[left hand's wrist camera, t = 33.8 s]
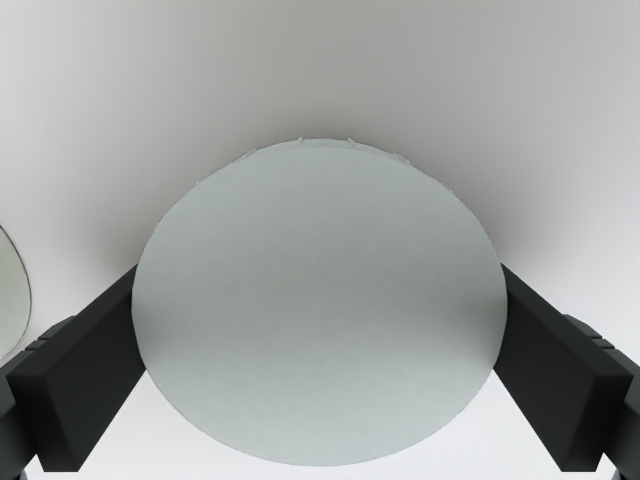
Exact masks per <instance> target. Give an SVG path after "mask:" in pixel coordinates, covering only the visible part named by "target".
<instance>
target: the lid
mask: <svg viewBox="0 0 640 480" xmlns="http://www.w3.org/2000/svg"><path fill="white" fill-rule="evenodd" d="M409 163H410V161H409V160H407V159H405V158H404V157H402V156H400V155H398V154H397V153H395V152H394V153H393V155H392V154H390V153H387V152H385V151H382V150H380V149H377V148H375V147H372V146H368V145H364V144H360V143H356V142H354V141H353V140H352V139H350V138H348V141H345V140H335V139H303V137H299V138H298V140H295V141H289V142H283V143H278V144H275V145H272V146H268V147H265V148H262V149H259V150H257V149H256V148H254V149H252V150H250V151H248V152H247V153H245V154H243V155H242V156H241V158H239V159H237V160H235V161H234V162H232V163H230V164H229V165H227V166H225V167H224V168H222V169H220V170H219V171H216V170H215V171H213V172H212V173H210V174H208V175H207V176H205V177H203V178H201V179H200V180H198V181H197V182H195V184H196V186H194V187H193V188H192V189H191V190H189V191H188V192H187V193H186V194H185V195H184V196H183V197H182V198H181V199H180V200H179V201H177V202H176V203H175V204H174V205H173V206H172V207H171V209H170V210H169V211H168V212H167V214H166V215H165V216H163V217H162V219H161V221H160V222H159V223H158V225H157V226H156V228H155V230H154V231H153V233H152V235H151V237H150V238H149V240H148V242H147V244H146V245H145V248H144V250H143V253H142V256H141V258H140V261H139V263H138V266H137V270H136V275H135V279H134V284H133V289H132V310H131V312H132V319H133V324H134V329H135V334H136V338H137V342H138V347H139V351H140V355H141V358H142V360H143V362H144V365H145V367H146V369H147V371H148V373H149V375H150V376H151V378H152V380H153V381H154V383H155V385H156V386H157V388H158V389H159V390H160V392H161V393H162V394H163V395H164V397H165V398H166V399H167V400H168V402H169V403H170V404H171V405H172V406H173V407H174V408H175V409H176V410H177V411H178V412H179V413H180V414H181V415H182V416H183V417H184V418H185V419H186V420H188V421H189V422H190V423H192V424H193V425H194V426H195V427H197V428H198V429H199V430H201V431H202V432H204V433H205V434H207V435H209V436H210V437H212V438H214V439H215V440H217V441H219V442H221V443H223V444H225V445H227V446H229V447H231V448H233V449H235V450H238V451H240V452H243V453H246V454H249V455H251V456H254V457H258V458H262V459H265V460H269V461H273V462H279V463H285V464H291V465H301V466H339V465H347V464H355V463H360V462H365V461H369V460H374V459H378V458H381V457H384V456H387V455H390V454H393V453H396V452H398V451H401V450H403V449H405V448H408V447H410V446H412V445H414V444H416V443H418V442H420V441H422V440H423V439H425V438H427V437H429V436H431V435H432V434H434V433H435V432H436V431H438V430H439V429H441V428H442V427H444V426H445V425H446V424H448V423H449V422H450V421H451V420H452V419H453V418H454V417H456V416H457V415H458V414H459V413H460V412H461V411H462V410H463V409H464V408H465V407H466V406H467V405H468V404H469V403H470V401H471V400H472V399H473V398H474V397H475V396H476V394H477V393H478V392H479V390H480V389H481V387H482V386H483V384H484V383H485V381H486V380H487V378H488V376H489V374H490V372H491V370H492V369H493V367H494V365H495V363H496V361H497V358H498V355H499V351H500V348H501V343H502V339H503V335H504V330H505V325H506V321H507V301H508V300H507V292H506V284H505V277H504V274H503V270H502V267H501V263H500V260H499V257H498V254H497V252H496V250H495V248H494V246H493V244H492V242H491V240H490V238H489V236H488V234H487V232H486V231H485V230H484V228H483V227H482V225H481V224H480V222H479V221H478V219H477V218H476V216H475V215H474V214H473V213H472V212H471V211H470V210H469V209H468V208H467V207H466V205H465V204H464V203H463V202H462V201H461V200H460V199H459V198H458V197H457V196H456V195H455V194H453V190H452V189H451V188H449V187H448V186H446V185H444V184H443V183H441V182H439V181H438V180H436V179H434V178H433V177H430V176H429V175H427V174H425V173H424V172H422V171H420V170H419V169H417V168H415V167H414V166H412V165H410V164H409Z"/></svg>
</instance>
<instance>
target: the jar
mask: <svg viewBox="0 0 640 480" xmlns="http://www.w3.org/2000/svg"><path fill="white" fill-rule="evenodd" d="M30 305H31V301H30V289H29V285H28V280H27V276H26V273H25V270H24V268H23V265H22V262H21V260H20V258H19V256H18V254H17V252H16V250H15V249H14V247H13V245H12V244H11V242H10V241H9V239H8V238H7V236H6V235H5V233H4V232H3V230H2V229H1V228H0V359H2V358H3V357H4V356H6V355H7V354H8V353H9V352H10V351H11V350H12V349H13V348H14V347H15V346H16V344H17V343H18V342H19V340H20V339H21V337H22V335H23V333H24V331H25V329H26V327H27V323H28V320H29V316H30Z"/></svg>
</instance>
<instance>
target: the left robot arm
mask: <svg viewBox="0 0 640 480" xmlns="http://www.w3.org/2000/svg"><path fill="white" fill-rule="evenodd" d="M500 263H501V262H500ZM137 266H138V264H136V265H135V266H134V267H133V268H132V269H131V270H129V271H128V272H127V273H126V274H125V275H123V276H122V277H121V278H120V279H119V280H118V281H116V282H115V283H114V284H113V285H112V286H110V287H109V288H108V289H107V290H106V291H105V292H103V293H102V294H101V295H100V296H99V297H97V298H96V299H95V300H94V301H93V302H92V303H90V304H89V305H88V306H87V307H86V308H85V309H83V310H82V311H81V312H80V313H79V314H77V315H76V316H71V317H69V318H67V319H65V320H63V321H61V322H59V323H57V324H55V325H53V326H52V327H51V328H49V329H48V330H47V331H46V332H44V333H43V334H42V335H41V336H40V337H38V340H35V341H33V342H32V343H31V344H30V345H28V346H27V347H26V348H25V351H21V352H20V353H19V354H17V355H16V356H15V357H14V358H12V359H11V360H10V361H9V362H7V363H6V364H5V365H4V366H3V367H1V368H0V480H27V475H26V473H25V471H24V468H25V467H26V466H27V464H28V463H29V462H30V461H31V460H32V458H33V457H34V456H35V455H36V453H37V456H38V458H39V461H40V463H41V466H42V468H43V470H44V472H78V471H79V469H80V468H81V466H82V465H83V463H84V462H85V460H86V459H87V457H88V456H89V454H90V453H91V451H92V450H93V448H94V447H95V445H96V444H97V442H98V441H99V439H100V438H101V436H102V435H103V433H104V432H105V430H106V429H107V427H108V426H109V424H110V423H111V421H112V420H113V418H114V417H115V415H116V414H117V412H118V411H119V409H120V408H121V406H122V405H123V403H124V402H125V400H126V399H127V397H128V396H129V394H130V393H131V391H132V390H133V388H134V387H135V385H136V384H137V382H138V381H139V379H140V378H141V376H142V375H143V373H144V372H145V370H146V367H145V365H144V362H143V360H142V358H141V355H140V351H139V347H138V342H137V338H136V334H135V329H134V324H133V319H132V312H131V310H132V289H133V284H134V279H135V275H136V270H137ZM501 267H502V270H503V274H504V277H505V284H506V292H507V300H508V301H507V321H506V325H505V330H504V335H503V339H502V343H501V348H500V351H499V355H498V358H497V361H496V363H495V365H494V367H493V369H494V371H495V372H496V374H497V375H498V377H499V378H500V380H501V381H502V383H503V384H504V386H505V387H506V389H507V390H508V392H509V393H510V395H511V396H512V398H513V399H514V401H515V402H516V404H517V405H518V407H519V408H520V410H521V411H522V413H523V414H524V416H525V417H526V419H527V420H528V422H529V423H530V425H531V426H532V428H533V429H534V431H535V432H536V434H537V435H538V437H539V438H540V440H541V441H542V443H543V444H544V446H545V447H546V449H547V450H548V452H549V453H550V455H551V456H552V458H553V459H554V461H555V462H556V464H557V465H558V467H559V468H560V470H561V471H562V472H596V469H597V467H598V464H599V462H600V459H601V457H602V454H603V452H604V453H605V454H606V456H607V457H608V458H609V459H610V460H611V462H612V463H613V464H614V465H615V466H616V471H615V473H614V475H613V478H612V480H640V367H639V366H638V365H637V364H636V363H634V362H633V361H632V360H631V359H629V358H628V357H627V356H626V355H624V354H623V353H622V352H621V351H619V350H618V349H615V347H614V346H613V345H612V344H611V343H610V342H608V341H607V340H606V339H602V336H601V335H600V334H598V333H597V332H596V331H595V330H593V329H592V328H591V327H590V326H588V325H587V324H585V323H583V322H581V321H579V320H577V319H575V318H574V317H572V316H570V315H568V314H561V313H560V312H559V311H557V310H556V309H555V308H554V307H553V306H552V305H550V304H549V303H548V302H547V301H546V300H544V299H543V298H542V297H541V296H540V295H539V294H537V293H536V292H535V291H534V290H533V289H531V288H530V287H529V286H528V285H527V284H526V283H524V282H523V281H522V280H521V279H520V278H518V277H517V276H516V275H515V274H514V273H513V272H511V271H510V270H509V269H508V268H507V267H505V266H504V265H503V264H502V263H501Z"/></svg>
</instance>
